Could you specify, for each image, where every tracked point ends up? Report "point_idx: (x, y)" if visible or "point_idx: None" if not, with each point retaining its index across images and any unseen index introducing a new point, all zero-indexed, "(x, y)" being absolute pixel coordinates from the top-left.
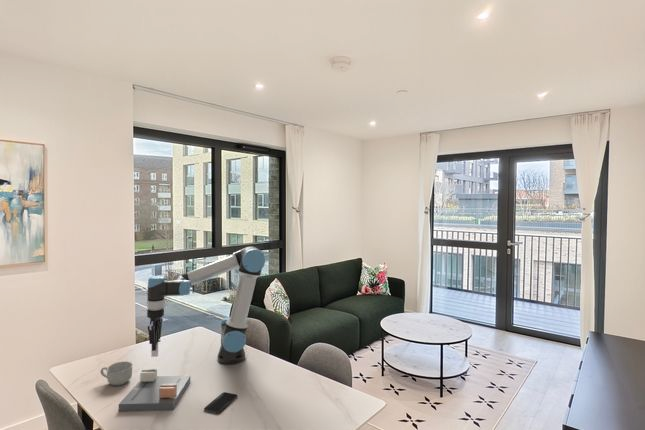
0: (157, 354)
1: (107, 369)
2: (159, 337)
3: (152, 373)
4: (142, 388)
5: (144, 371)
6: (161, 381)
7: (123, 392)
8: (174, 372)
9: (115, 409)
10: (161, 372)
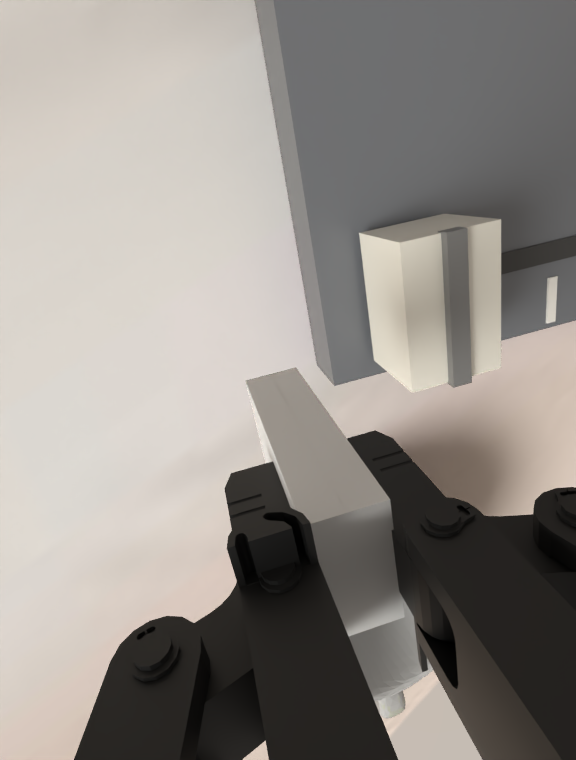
0: (279, 383)
1: (429, 667)
2: (197, 675)
3: (496, 232)
4: (548, 245)
5: (467, 349)
6: (418, 135)
7: (463, 406)
8: (47, 190)
9: None
10: (94, 335)
